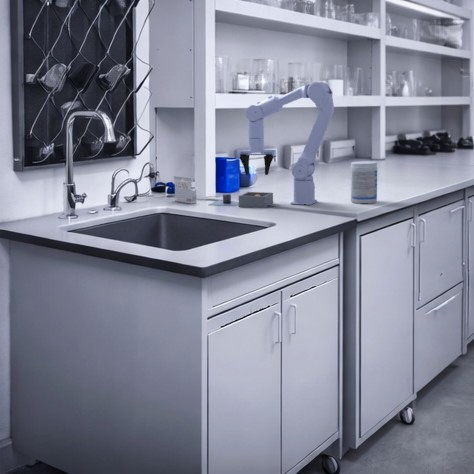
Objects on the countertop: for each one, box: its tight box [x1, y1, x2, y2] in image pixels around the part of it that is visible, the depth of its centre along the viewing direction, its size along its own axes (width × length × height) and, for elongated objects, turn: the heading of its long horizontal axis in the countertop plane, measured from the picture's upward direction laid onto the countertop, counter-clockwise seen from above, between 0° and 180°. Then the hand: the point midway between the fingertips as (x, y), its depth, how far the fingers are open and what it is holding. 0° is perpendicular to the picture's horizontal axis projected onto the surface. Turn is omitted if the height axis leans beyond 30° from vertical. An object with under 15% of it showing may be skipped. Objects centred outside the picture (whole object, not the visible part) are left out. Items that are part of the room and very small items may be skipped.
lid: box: [208, 193, 239, 207], centre depth 255 cm, size 11×11×4 cm
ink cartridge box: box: [173, 175, 197, 205], centre depth 260 cm, size 2×11×10 cm, turn 41°
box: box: [238, 191, 274, 209], centre depth 250 cm, size 10×10×4 cm
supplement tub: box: [350, 160, 378, 204], centre depth 249 cm, size 10×10×15 cm
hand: (257, 174), depth 256 cm, fingers open, 7 cm apart
